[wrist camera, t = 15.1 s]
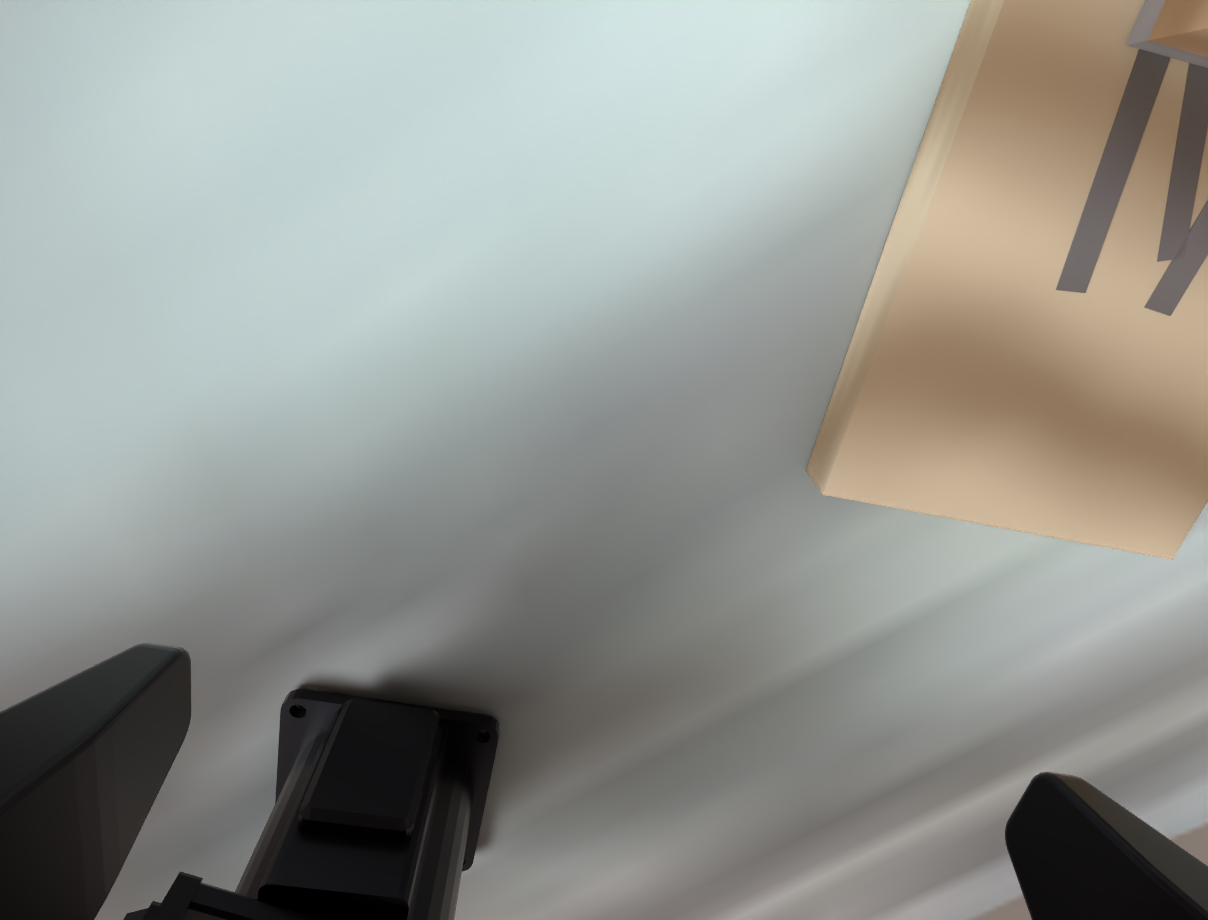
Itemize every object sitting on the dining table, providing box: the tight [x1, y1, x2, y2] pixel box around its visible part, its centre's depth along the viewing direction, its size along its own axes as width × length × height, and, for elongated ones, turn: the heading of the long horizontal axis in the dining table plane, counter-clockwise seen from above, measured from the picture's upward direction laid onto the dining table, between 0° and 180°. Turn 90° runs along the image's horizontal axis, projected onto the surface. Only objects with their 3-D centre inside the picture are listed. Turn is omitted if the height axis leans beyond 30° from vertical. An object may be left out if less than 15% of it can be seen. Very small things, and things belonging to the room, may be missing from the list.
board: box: [806, 0, 1208, 560], centre depth 16 cm, size 18×10×2 cm, turn 168°
